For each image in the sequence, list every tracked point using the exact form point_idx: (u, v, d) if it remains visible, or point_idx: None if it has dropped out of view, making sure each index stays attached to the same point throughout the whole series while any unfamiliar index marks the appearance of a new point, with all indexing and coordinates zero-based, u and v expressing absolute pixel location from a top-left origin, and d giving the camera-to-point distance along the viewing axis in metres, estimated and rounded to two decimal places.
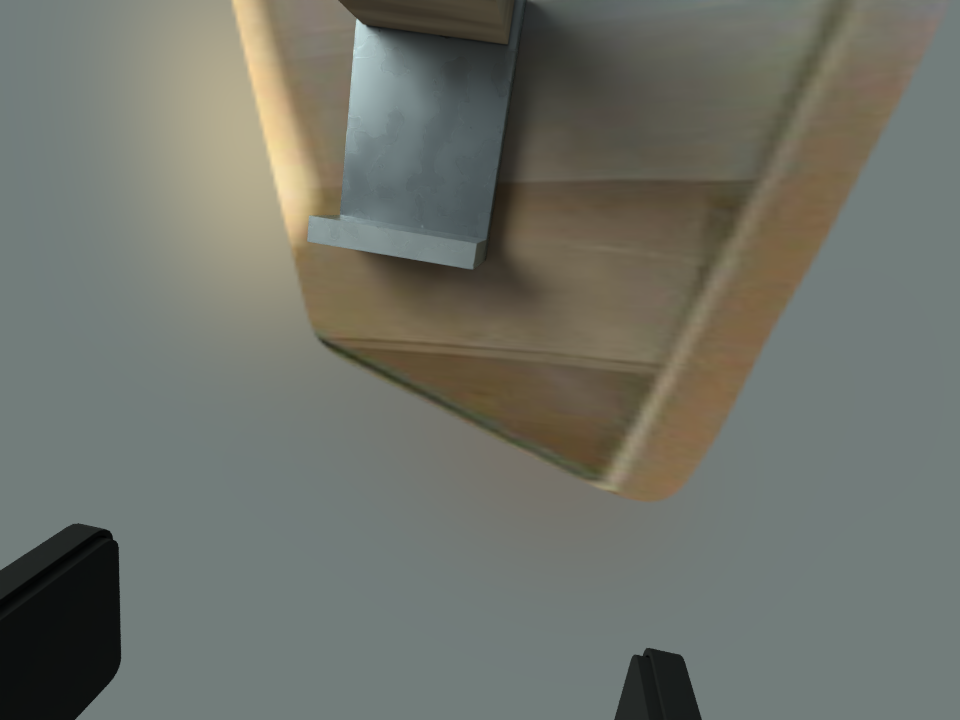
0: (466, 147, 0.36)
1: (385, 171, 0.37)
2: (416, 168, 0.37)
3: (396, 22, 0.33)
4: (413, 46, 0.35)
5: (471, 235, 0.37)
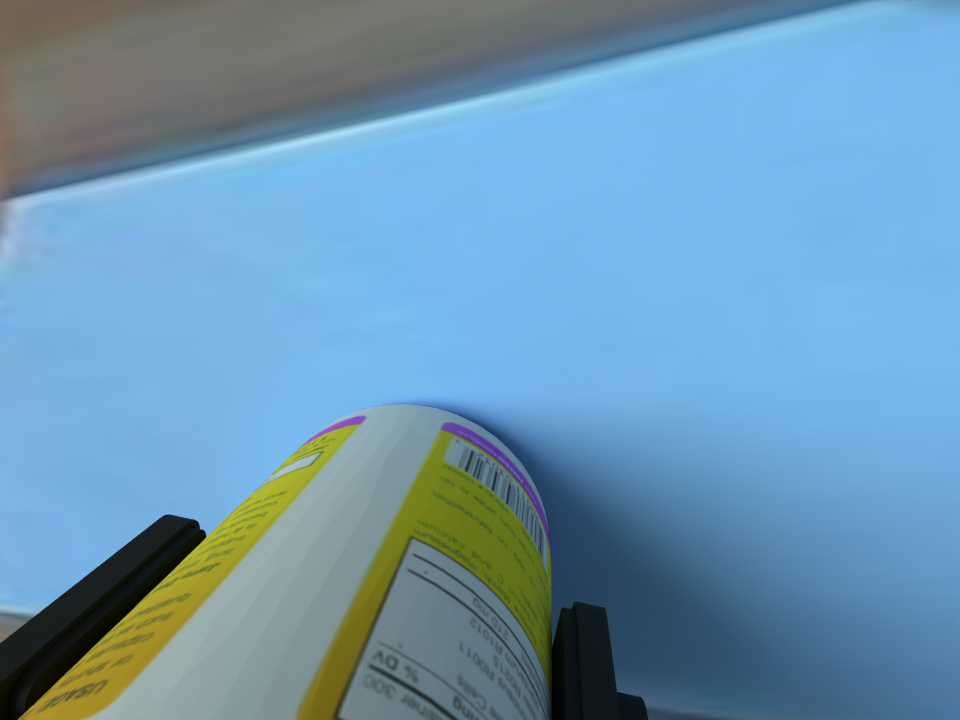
0: None
1: None
2: None
3: None
4: None
5: None
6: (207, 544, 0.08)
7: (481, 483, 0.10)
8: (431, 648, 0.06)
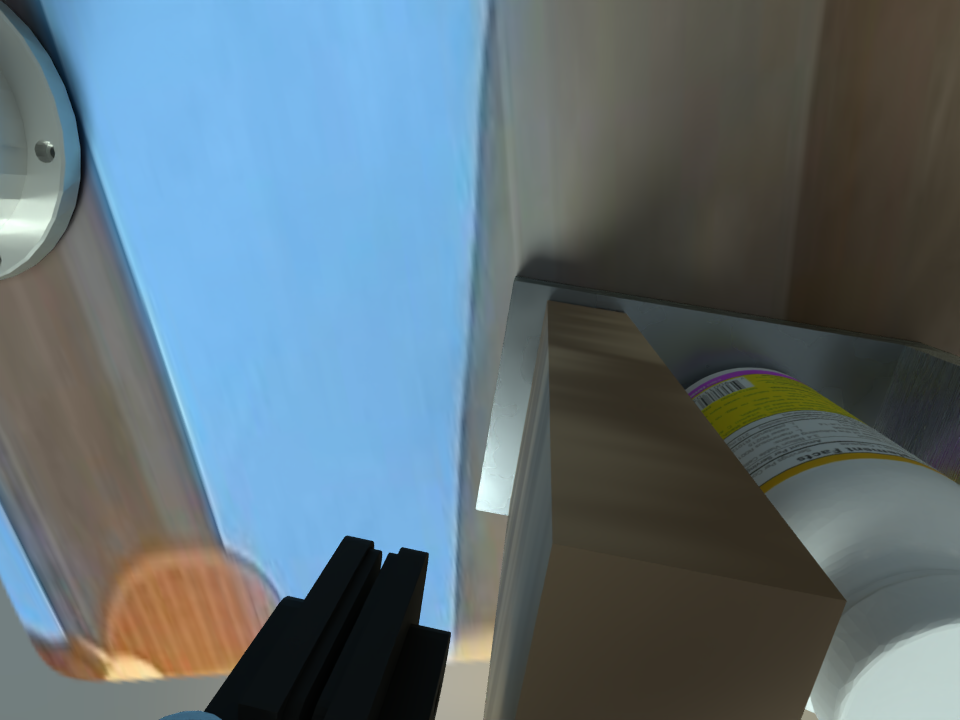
0: None
1: None
2: None
3: None
4: None
5: (892, 370, 0.21)
6: None
7: None
8: None
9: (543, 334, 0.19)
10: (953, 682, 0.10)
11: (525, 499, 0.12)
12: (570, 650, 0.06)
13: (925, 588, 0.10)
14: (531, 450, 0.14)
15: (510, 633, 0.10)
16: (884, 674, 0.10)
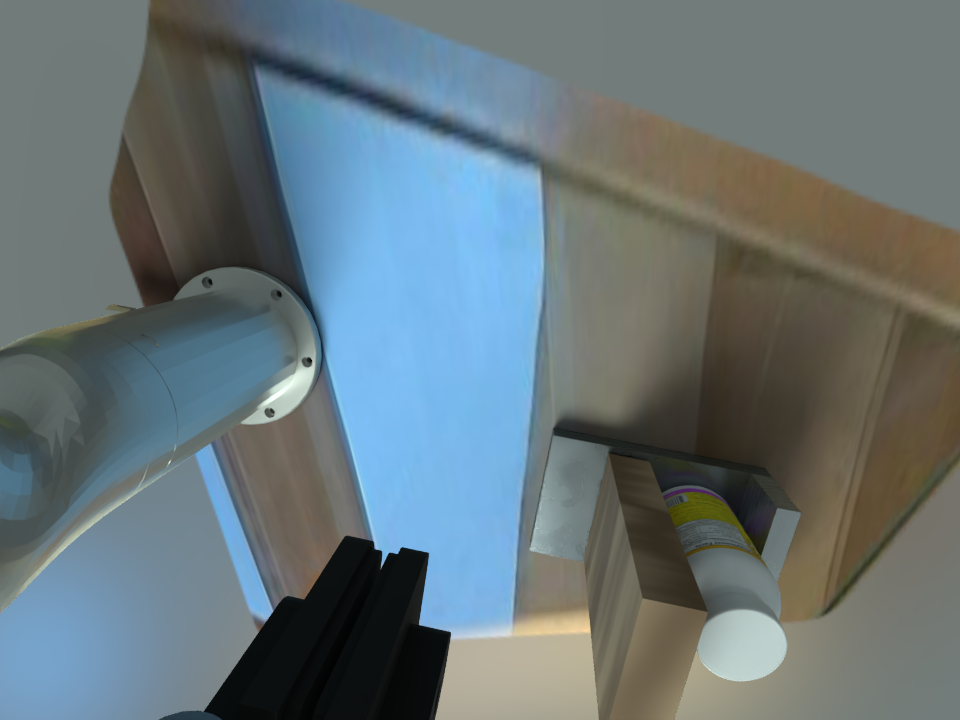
0: (668, 485, 0.42)
1: None
2: None
3: None
4: (586, 519, 0.44)
5: (745, 485, 0.41)
6: None
7: None
8: None
9: (609, 479, 0.39)
10: (732, 630, 0.30)
11: (615, 571, 0.33)
12: (645, 622, 0.26)
13: (726, 599, 0.31)
14: (614, 549, 0.34)
15: (617, 621, 0.30)
16: (710, 627, 0.30)
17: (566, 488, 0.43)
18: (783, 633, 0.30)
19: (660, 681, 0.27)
